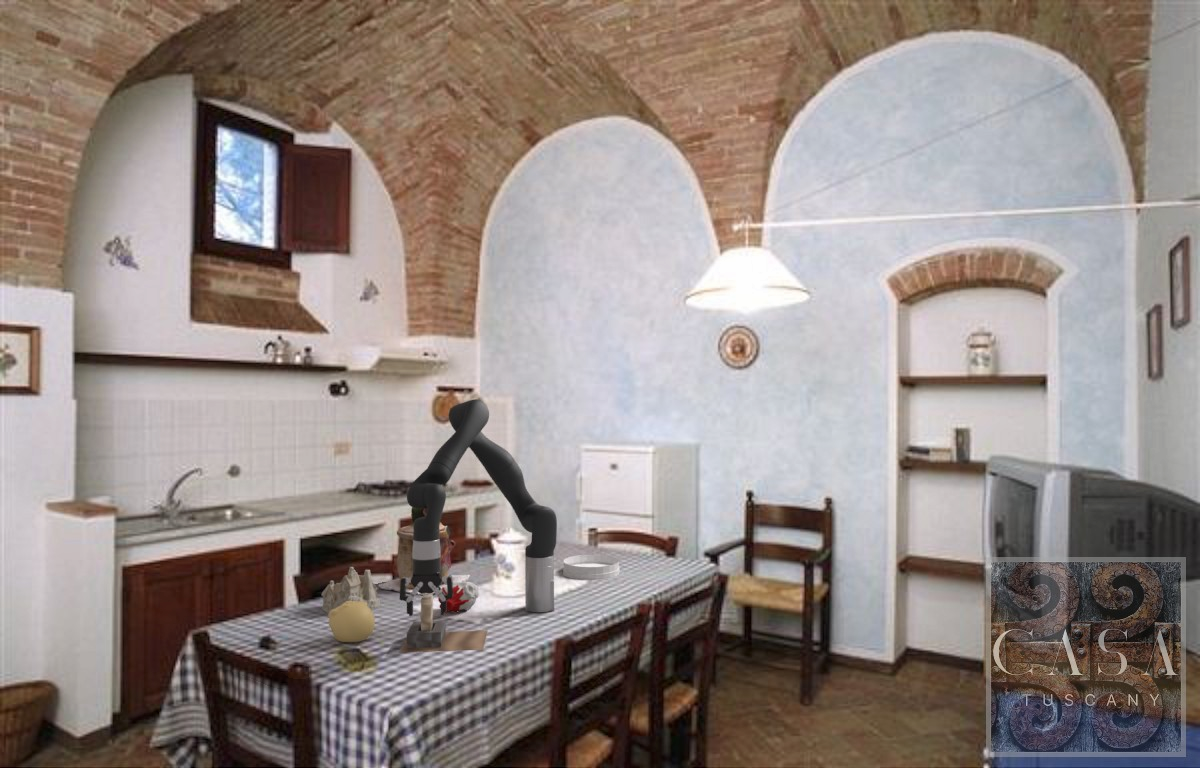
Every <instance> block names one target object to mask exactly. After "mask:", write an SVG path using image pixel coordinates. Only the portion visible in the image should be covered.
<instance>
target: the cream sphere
mask: <svg viewBox="0 0 1200 768" xmlns="http://www.w3.org/2000/svg"><path fill="white" fill-rule="evenodd" d="M327 615H328V626H329V628H330V629H331V632H332V635H333V637H334V638H335V639H336V640H337V641H338V642H342V643H357V642H363V641H365V640H367V639H368V638H369V637H371V635H372V633H373V631H374V629H375V625H376V624H375V623H376V620H375V615H374V613H373V610H371V609H370V608H369V607H368V606H367V603H365V602H362V601H358V602H355V601H346V602H345V603H343V604H342V605H341V606H339V607H337V608H335V609H333V610H331V611H330V612H329V613H327Z"/></svg>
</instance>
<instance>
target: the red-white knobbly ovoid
mask: <svg viewBox="0 0 1200 768" xmlns="http://www.w3.org/2000/svg"><path fill="white" fill-rule="evenodd" d="M442 590H443V592H444V593H445V595H446V594H448V591H447V586H445V587H443V588H442ZM479 595H480V594H479V586H477V585H476V584H474V583H473V582H471V581H466V582H454V583H453V597H452V598H451V599H448V600H447V610H446V612H452V613H454V612H457V611H459V612H461V611H463V610H464V611H466V610H468V611H469V609H471V608H472V607H473V606H474V605H475V604H476V602H477V599H478V598H479ZM437 601H438V602H439V609H441V599H440V598H439V597H438V599H437ZM470 607H471V608H470ZM457 613H458V612H457Z"/></svg>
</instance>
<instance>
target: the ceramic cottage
mask: <svg viewBox="0 0 1200 768" xmlns="http://www.w3.org/2000/svg"><path fill="white" fill-rule="evenodd" d="M372 577H373V576H372V573H371V570H370V569H365V570H364V574H363V575H360V574H358V572H357V571H356V570H355V568H354V566H349V569H348V574H347V575H346V574H344V576H343V577H342V579H341V582H336V583H335V581H334V580H330V581H329V584H327V585H326V587H325V589H323V591H322V592H321V597H322V601H323V603H322V604H323V605H321V606H322V607H321V610H322V611H323V612H325V613H326V614H329V612H330V611H331V610H333V609H335V608H337V607H339V606H341V605H342V604H343V603H345V602H346V601H355V602H358V601H362V602H365V603H367V606H368V607H369V608H370V609H371V611H373V610H375V609H378V608H381V602H380V599H379V598H378V592H377V590H378V587H377V586H376V584H375V583H374V582H373V578H372Z"/></svg>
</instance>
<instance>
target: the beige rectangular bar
mask: <svg viewBox="0 0 1200 768" xmlns="http://www.w3.org/2000/svg"><path fill="white" fill-rule="evenodd" d="M433 595H434V594H432V595H422V597H421V599H420V622H421V631H429V630H433V621H434V597H433Z"/></svg>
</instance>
